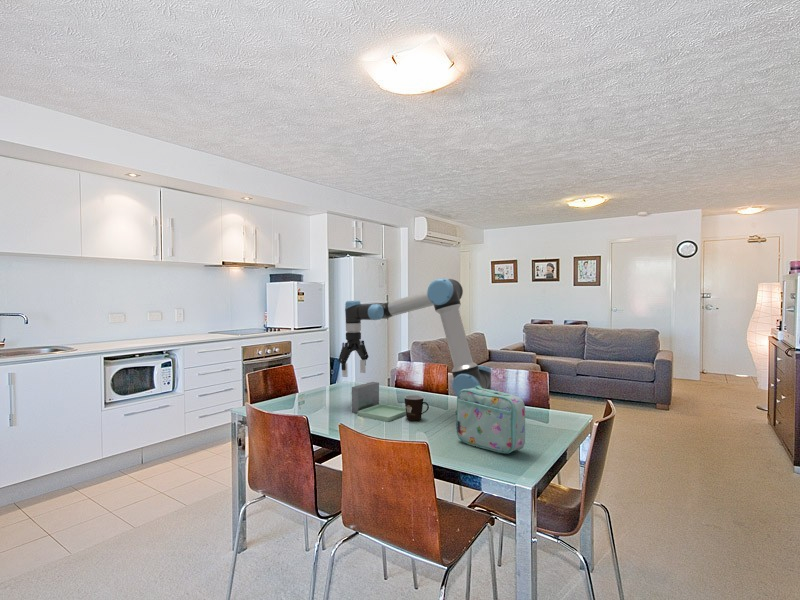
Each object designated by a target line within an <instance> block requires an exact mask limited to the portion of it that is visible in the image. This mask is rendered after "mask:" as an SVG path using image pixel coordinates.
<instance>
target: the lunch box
mask: <svg viewBox="0 0 800 600" xmlns="http://www.w3.org/2000/svg"><path fill="white" fill-rule="evenodd" d="M456 398H457V399H456V405H457V406H456V411H455V414H454V415H455V416H456V421H455V423H456V424H455V426H456V427H455V428H456V433H457V437H458V439H459V441H461V442H462V443H464V444H466V445H469V446H473V447H475V446H476V448H479V449H483V450H487V451H491V452H494V453H499V454H510V453H512V452H516V451H518V450H521V449H523V448H524V446H525V444H526V407H525V402H524V399H522V398H521V397H519V396H518V395H515V394H511V393H507V392H502V391H499V390H493V389H491V390H489V389H483V388H482V387H481V386H475V388H471V389H463V390H461V391H460V392H459V394H458V397H457V396H456Z"/></svg>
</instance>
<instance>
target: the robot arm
mask: <svg viewBox="0 0 800 600" xmlns="http://www.w3.org/2000/svg"><path fill="white" fill-rule="evenodd" d="M463 292H464V289H463V286H462V285H461V283H460V282H459V281H457V280H456V279H453V278H446V277H442V278H436V279H433V281H431V282H430V284H429V286H428V287H427V289H426V290H425V291H422V292H419V293H416V294H411V295H409V296H404V297H402V298H399V299H395V300H392V301H388V302H384V303H378V304H376V303H372V304H361V300H347V301H346V302H345V305H344V306H345V307H344V308H345V309H344V313H345V340H346V342H342V344H341V346H342V347H341V350H340V353H339V357H338V360H337V362H338V363H339V364H341V373H342V374H341V375H342V377H343V378H348V363H347V361H348V359H349V357H350V355H351V353H353V352H356V353H357V354H358V356H359V358H360V360H359V366H360V367H359V368H360V369H359V371H360V373H361V374H365V373H366V366H367V364H366V363H367V362H366V361H367V360H368V358H369V357H370V356H369V353H368V351H367V348H366V345H365V340H363V339H362V331H361V330H362V323H361V321H364V320H365V321H377V320H378V321H379V320H381V319H382V320H383V319H384V320H386V319H390V318H392V317H395V316H400V315H403V314H407V313H411V312H414V311H418V310H421V309H422V310H423V309H425V308H428V307H429V308H430V307H432V306H433V308H434V312H435V313H438V314H439V317H440V319H441V324H442V327H443V332H444V335H445V339H446V343H447V347H448V350H449V353H450V357H451V361H452V364H453V368H452V370H451V373H452V378H453V380H452V382H451V388H452V390H453V393H454V395H455V396H456V398H457V397H458V394H459V392H460V391H461V390H463V389H471V388H475V386H481V387H482V388H483V389H489V390H492V369H491V367H490V366H486V365H478V364H477V363H476V362H474V360H473V358H472V357H473V356H472V353H471V350H470V346H469V343H468V339H467V336H466V332H465V328H464V327H465V326H464V324H463V320H462V316H461V314H460V313H461V312H460V310H459V309H460V307H461V306H462V305H461V299H462V298H463V294H464V293H463ZM361 339H362V340H361Z"/></svg>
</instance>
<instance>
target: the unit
mask: <svg viewBox="0 0 800 600" xmlns="http://www.w3.org/2000/svg"><path fill="white" fill-rule="evenodd" d="M379 404H380V382H377V381H370V382H366V383H362V384H359V385H355V386H351V413H354V414H358V411H360V410H363V409H366V408H369V407H373V406H376V405H379Z"/></svg>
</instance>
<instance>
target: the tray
mask: <svg viewBox="0 0 800 600" xmlns="http://www.w3.org/2000/svg"><path fill="white" fill-rule="evenodd" d="M357 416H359V417H363V418H367V419H371V420H372V419H373V420H377V421H381V422H387V423H389V422H392V421H395V420H397V419H400V418H402V417H405V416H406V408H405V407H402V406H396V405H390V404H384V403H379V405H376V406H373V407H369V408H366V409H363V410H360V411H358V413H357Z"/></svg>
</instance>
